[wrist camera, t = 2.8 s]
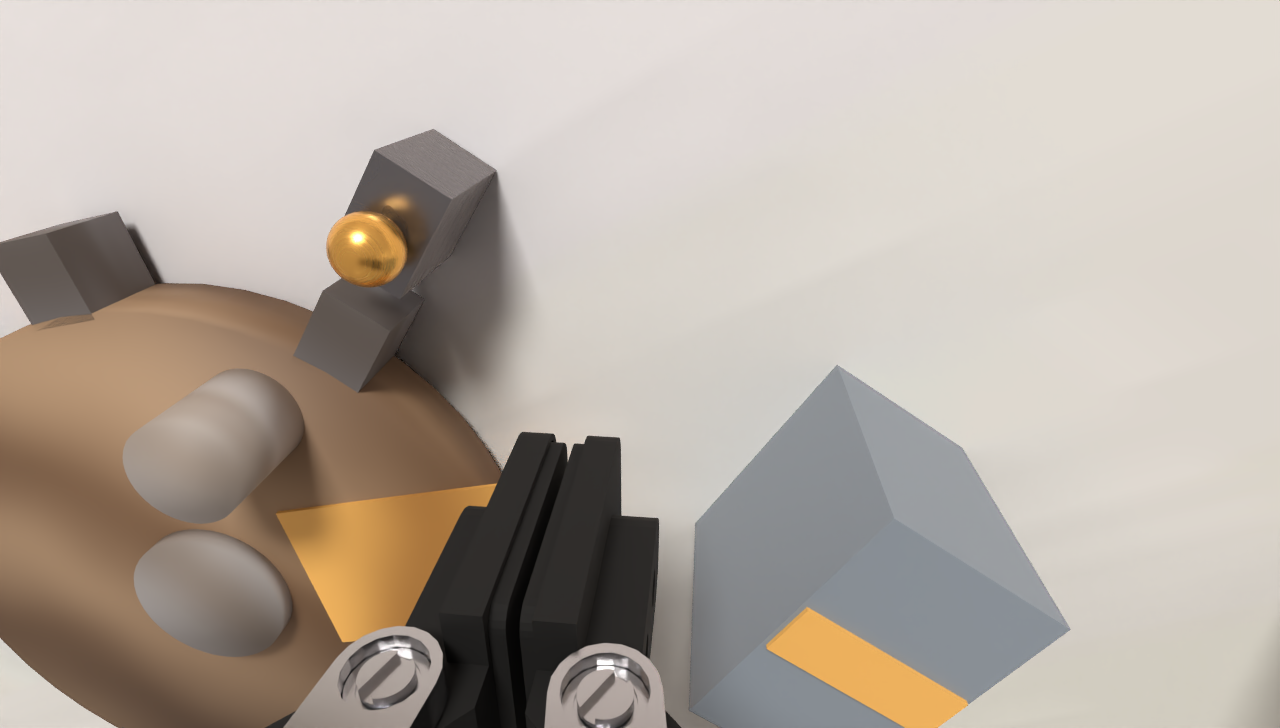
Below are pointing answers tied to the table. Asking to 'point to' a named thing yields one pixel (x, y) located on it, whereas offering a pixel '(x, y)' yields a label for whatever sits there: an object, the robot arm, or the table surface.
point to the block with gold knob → (407, 212)
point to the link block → (858, 577)
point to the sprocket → (210, 482)
